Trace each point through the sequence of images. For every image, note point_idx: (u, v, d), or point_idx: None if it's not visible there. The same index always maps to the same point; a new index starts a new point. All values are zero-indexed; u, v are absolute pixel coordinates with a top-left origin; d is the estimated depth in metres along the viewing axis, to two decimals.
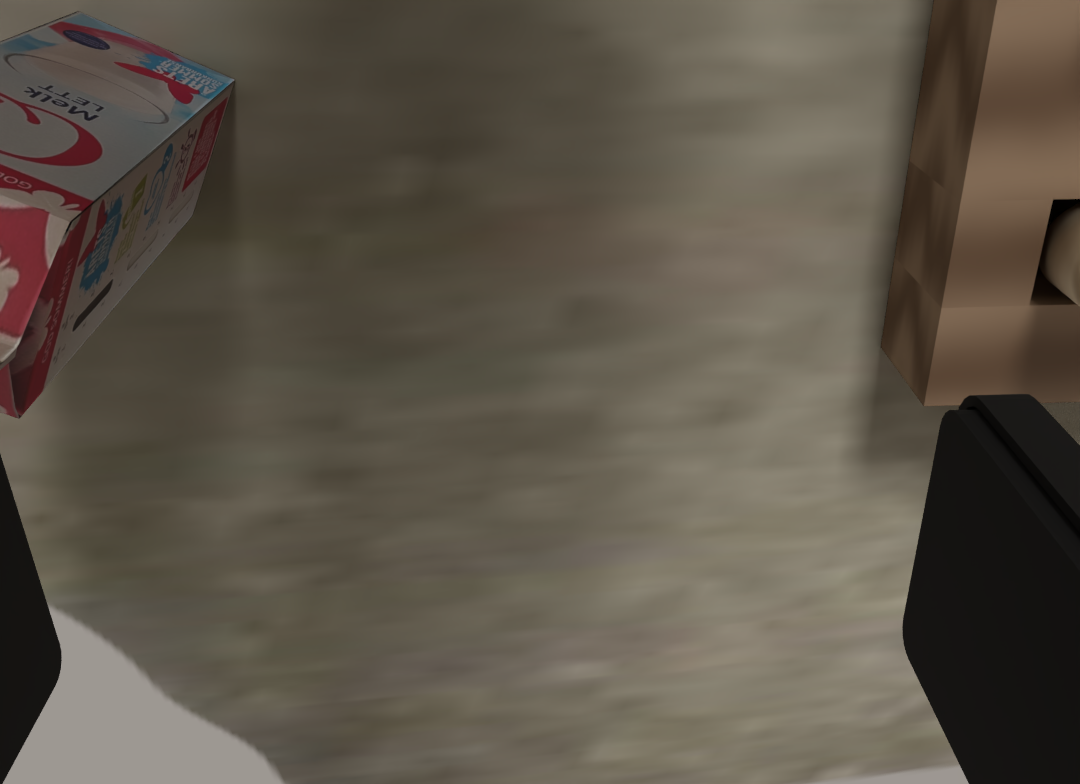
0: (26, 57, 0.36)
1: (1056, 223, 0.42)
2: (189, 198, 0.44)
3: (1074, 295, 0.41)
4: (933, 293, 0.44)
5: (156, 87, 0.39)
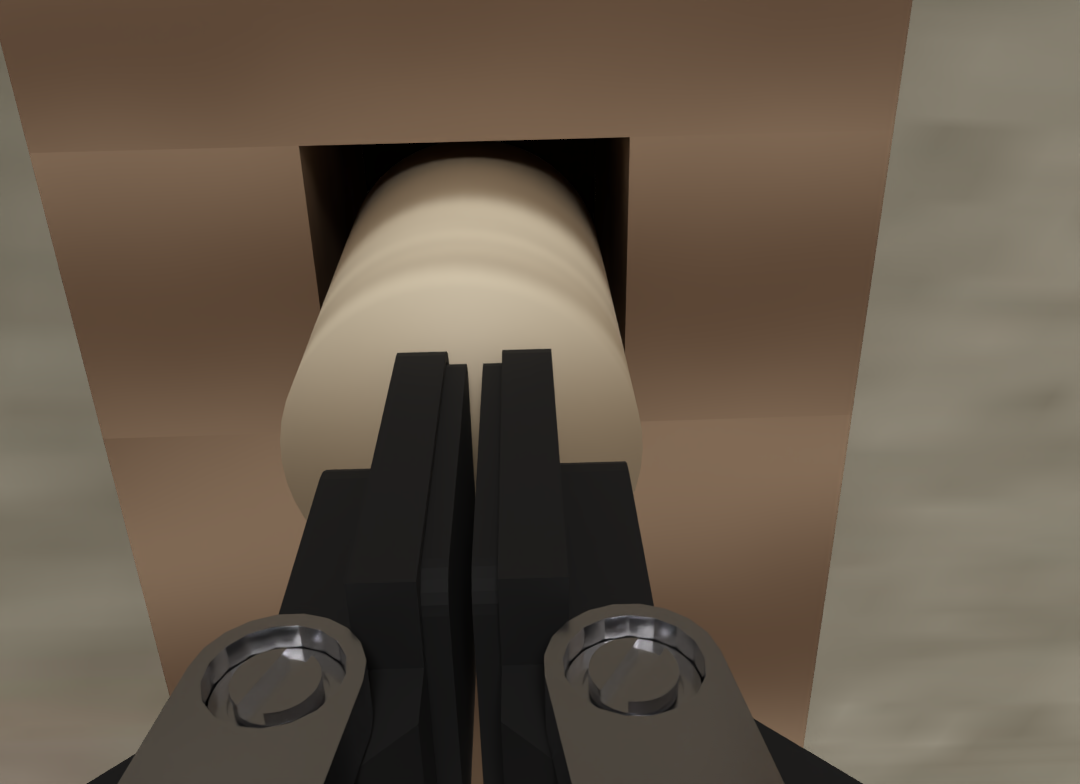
0: None
1: None
2: None
3: None
4: None
5: None
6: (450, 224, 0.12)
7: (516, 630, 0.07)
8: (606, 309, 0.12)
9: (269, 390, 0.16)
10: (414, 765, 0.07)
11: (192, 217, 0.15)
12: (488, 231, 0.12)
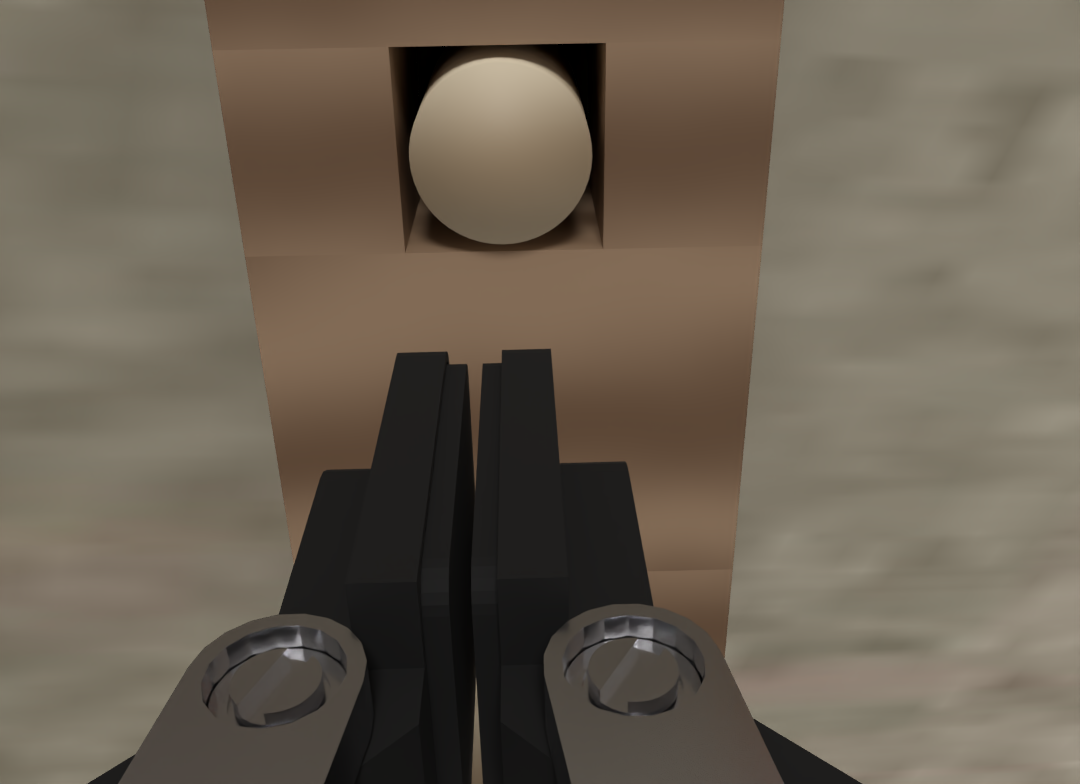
0: None
1: None
2: None
3: None
4: None
5: None
6: (494, 47, 0.23)
7: (515, 630, 0.07)
8: (575, 93, 0.23)
9: (360, 222, 0.23)
10: (415, 765, 0.07)
11: (316, 96, 0.22)
12: (514, 49, 0.23)
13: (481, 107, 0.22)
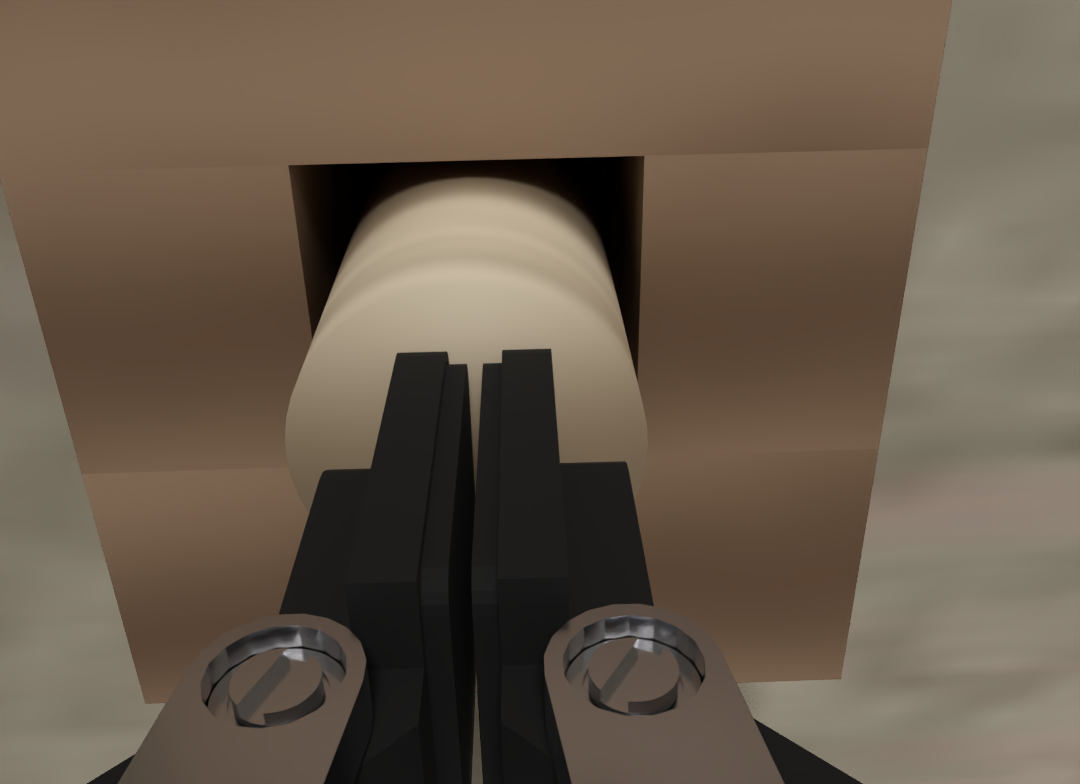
0: None
1: (366, 202, 0.16)
2: None
3: None
4: None
5: None
6: None
7: (516, 631, 0.07)
8: None
9: None
10: (414, 765, 0.07)
11: None
12: None
13: None
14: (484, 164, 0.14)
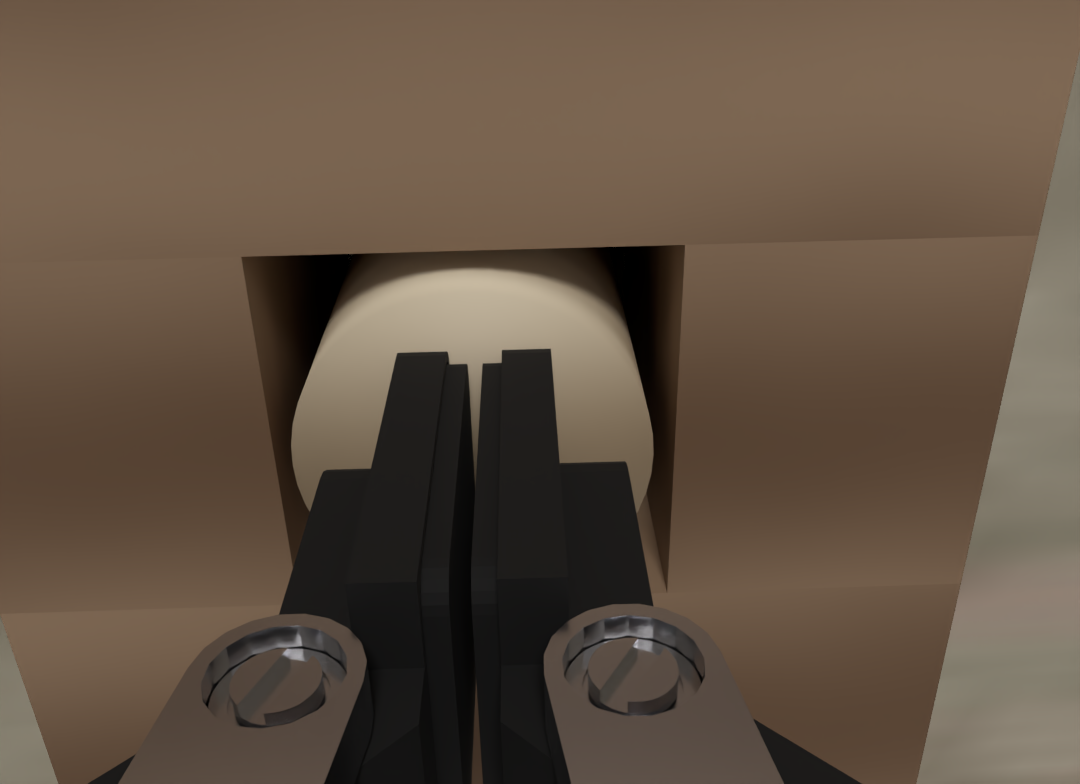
0: None
1: None
2: None
3: None
4: None
5: None
6: None
7: (515, 630, 0.07)
8: None
9: None
10: (414, 765, 0.07)
11: None
12: None
13: None
14: None
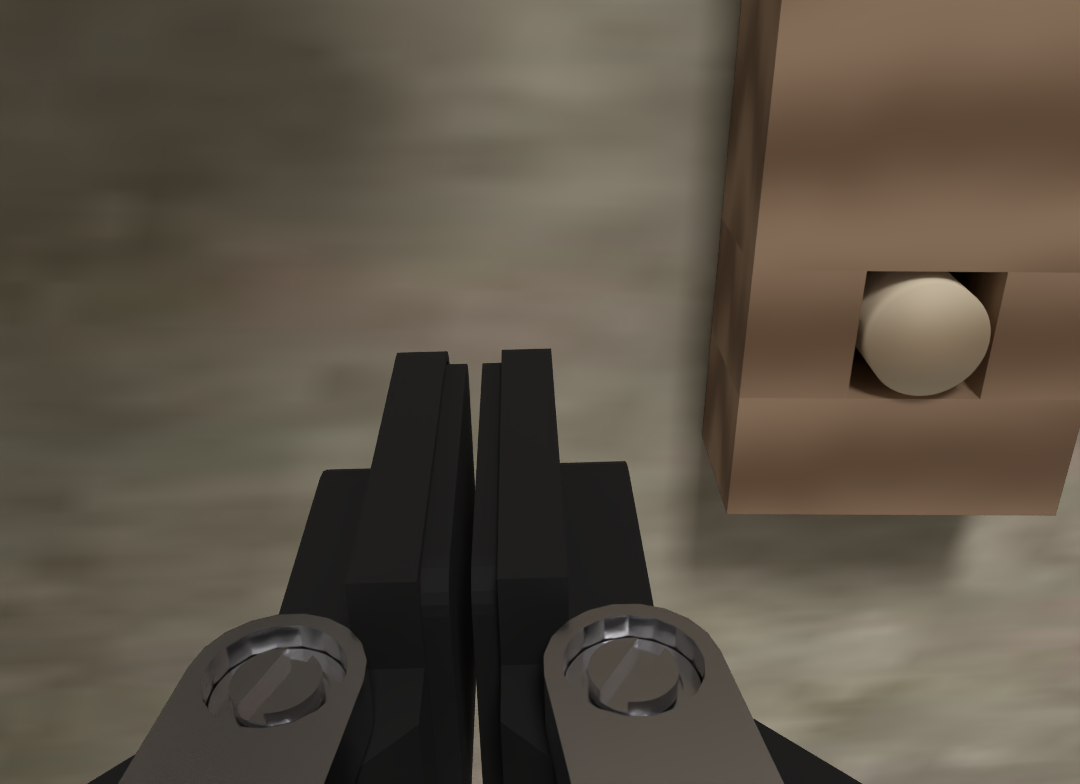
0: None
1: None
2: None
3: None
4: (734, 379, 0.36)
5: None
6: None
7: (516, 630, 0.07)
8: None
9: None
10: (414, 765, 0.07)
11: None
12: None
13: None
14: None
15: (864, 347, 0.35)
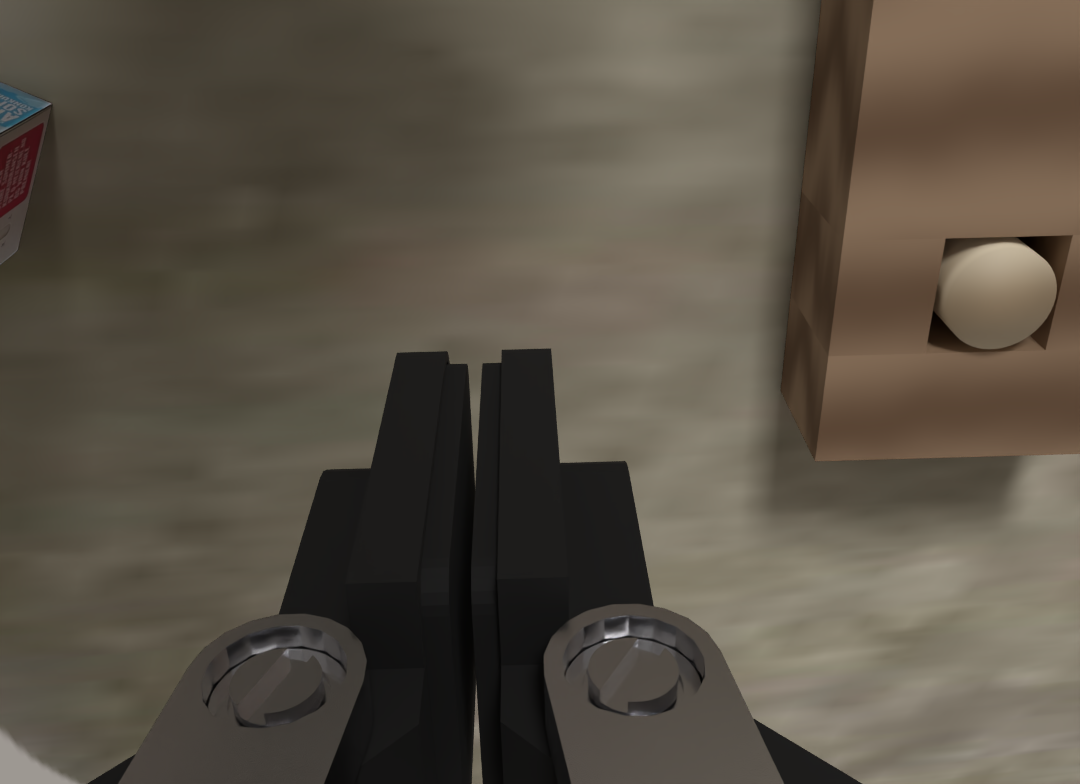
0: None
1: None
2: (3, 234, 0.40)
3: None
4: (821, 339, 0.40)
5: None
6: None
7: (516, 630, 0.07)
8: None
9: None
10: (414, 765, 0.07)
11: None
12: None
13: None
14: None
15: (941, 307, 0.38)
